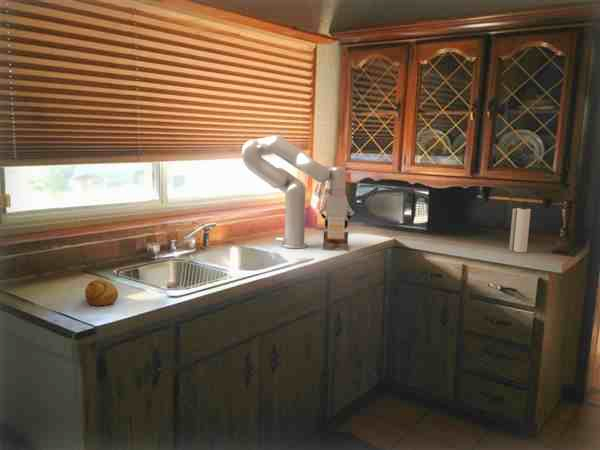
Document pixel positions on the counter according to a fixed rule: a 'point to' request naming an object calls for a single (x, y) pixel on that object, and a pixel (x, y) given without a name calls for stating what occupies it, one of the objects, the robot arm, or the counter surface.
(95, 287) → the bread roll
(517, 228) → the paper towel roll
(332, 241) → the cleat holder
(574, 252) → the counter surface
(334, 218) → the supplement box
